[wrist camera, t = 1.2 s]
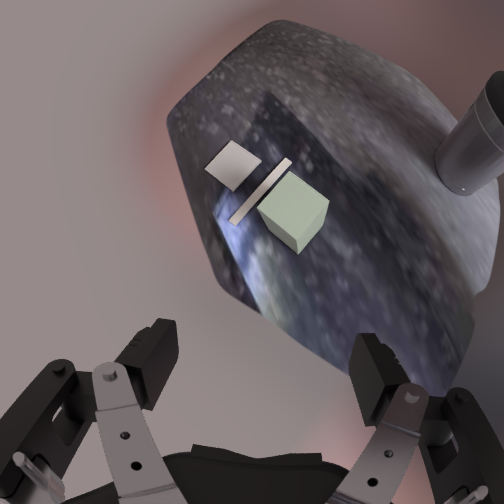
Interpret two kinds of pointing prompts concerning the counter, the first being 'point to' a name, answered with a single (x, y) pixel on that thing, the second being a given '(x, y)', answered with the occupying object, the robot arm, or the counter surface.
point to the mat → (232, 165)
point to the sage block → (294, 211)
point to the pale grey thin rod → (260, 191)
